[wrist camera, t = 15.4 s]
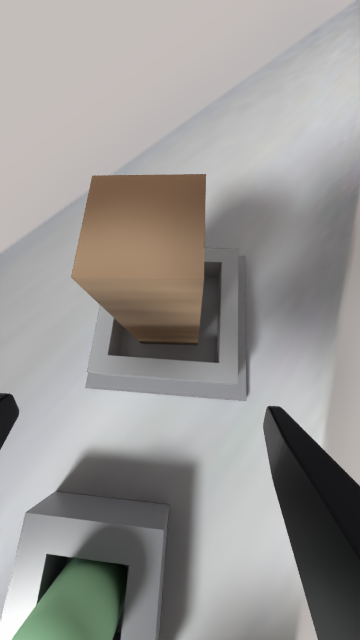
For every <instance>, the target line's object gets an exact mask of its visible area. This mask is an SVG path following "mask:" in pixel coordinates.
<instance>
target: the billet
mask: <svg viewBox="0 0 360 640" xmlns="http://www.w3.org/2000/svg"><path fill="white" fill-rule="evenodd" d="M205 195H206V174H184V175H109V176H92V180H91V184H90V189H89V194H88V199H87V203H86V208H85V213H84V218H83V223H82V227H81V232H80V237H79V242H78V246H77V251H76V256H75V261H74V266H73V270H72V275H71V278H72V279H73V280H74V281H76V282H77V283H78V284H79V285H80V286H81V287H82V288H83V289H84V290H85V291H86V292H87V293H88V294H89V295H90V296H91V297H92V298H94V299H95V300H96V301H97V302H98V303H99V304H100V305H101V306H102V307H103V308H104V309H105V310H106V311H107V312H108V313H109V314H110V315H111V316H113V317H114V318H115V319H116V320H117V321H118V322H119V323H120V324H121V325H122V326H123V327H124V328H125V329H126V330H127V331H128V332H129V333H130V334H132V335H133V336H134V337H135V338H136V339H137V340H138V341H139V342H140V343H144V344H172V345H198V338H199V327H200V316H201V306H202V295H203V284H204V250H205Z"/></svg>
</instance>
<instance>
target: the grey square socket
mask: <svg viewBox="0 0 360 640" xmlns="http://www.w3.org/2000/svg"><path fill="white" fill-rule="evenodd" d="M87 372H88V376H87V382H86V387H85V388H92V389H104V390H117V391H129V392H141V393H153V394H165V395H178V396H190V397H202V398H214V399H226V400H239V401H246V302H245V256H238V249H226V248H205V250H204V284H203V295H202V306H201V316H200V327H199V338H198V345H172V344H144V343H140V342H139V341H138V340H137V339H136V338H135V337H134V336H133V335H132V334H130V333H129V332H128V331H127V330H126V329H125V328H124V327H123V326H122V325H121V324H120V323H119V322H118V321H117V320H116V319H115V318H114V317H113V316H111V315H110V314H109V313H108V312H107V311H106V310H105V309H104V308H103V307H102V306H101V305H100V307H99V312H98V317H97V322H96V327H95V333H94V338H93V343H92V348H91V353H90V359H89V364H88V369H87Z"/></svg>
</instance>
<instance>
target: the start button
mask: <svg viewBox="0 0 360 640" xmlns="http://www.w3.org/2000/svg"><path fill="white" fill-rule="evenodd" d="M126 587H127V573H126V569H125V566H124V565H123V564H116V563H109V562H102V561H95V560H88V559H81V558H73V557H72V558H71V559H70V560H69V562H68V563H67V564H66V566H65V567H64V569H63V570H62V571H61V573H60V574H59V575H58V577H57V578H56V579H55V581H54V582H53V583H52V585H51V586H50V587H49V589H48V590H47V592H46V593H45V594H44V596H43V597H42V598H41V600H40V601H39V602H38V604H37V605H36V606H35V608H34V609H33V610H32V612H31V613H30V615H29V616H28V617H27V619H26V620H25V621H24V623H23V624H22V625H21V627H20V628H19V629H18V631H17V632H16V633H15V635H14V636H13V638H12V640H113V637H114V634H115V631H116V627H117V624H118V621H119V618H120V615H121V612H122V609H123V606H124V603H125V596H126Z"/></svg>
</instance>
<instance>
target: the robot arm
mask: <svg viewBox="0 0 360 640" xmlns="http://www.w3.org/2000/svg"><path fill="white" fill-rule="evenodd" d="M18 415H19V408H18V406H17V404H16V402H15V399H14V397H13V395H11V394H7V393H0V449H1V447H2V446H3V444H4V442H5V440H6V438H7V436H8V434H9V433H10V431H11V429H12V427H13V425H14V423H15V421H16V420H17V418H18ZM263 429H264V435H265V441H266V446H267V452H268V458H269V463H270V469H271V474H272V479H273V483H274V487H275V490H276V494H277V497H278V501H279V504H280V508H281V511H282V515H283V518H284V522H285V525H286V529H287V532H288V536H289V539H290V543H291V546H292V550H293V553H294V557H295V560H296V564H297V567H298V571H299V574H300V578H301V581H302V585H303V589H304V592H305V596H306V599H307V603H308V606H309V610H310V613H311V617H312V620H313V624H314V627H315V631H316V634H317V637H318V640H360V486H359V485H358V484H357V483H356V482H355V481H354V480H353V479H352V478H351V477H350V476H349V475H348V474H347V473H346V472H345V471H344V470H343V469H342V468H341V467H340V466H339V465H338V464H337V463H336V462H335V461H334V460H333V459H332V458H331V457H330V456H329V455H328V454H327V453H326V452H325V451H324V450H323V449H322V448H321V447H320V446H319V445H318V444H317V443H316V442H315V441H314V440H313V439H312V438H311V437H310V436H309V435H308V434H307V433H306V432H305V431H304V430H303V429H302V428H301V427H300V426H299V425H298V424H297V423H296V422H295V421H294V420H293V419H292V418H291V417H290V416H289V415H288V414H287V413H286V412H285V411H284V410H283V409H282V408H281V407H279V406H268V407H267V409H266V414H265V418H264V423H263Z"/></svg>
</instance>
